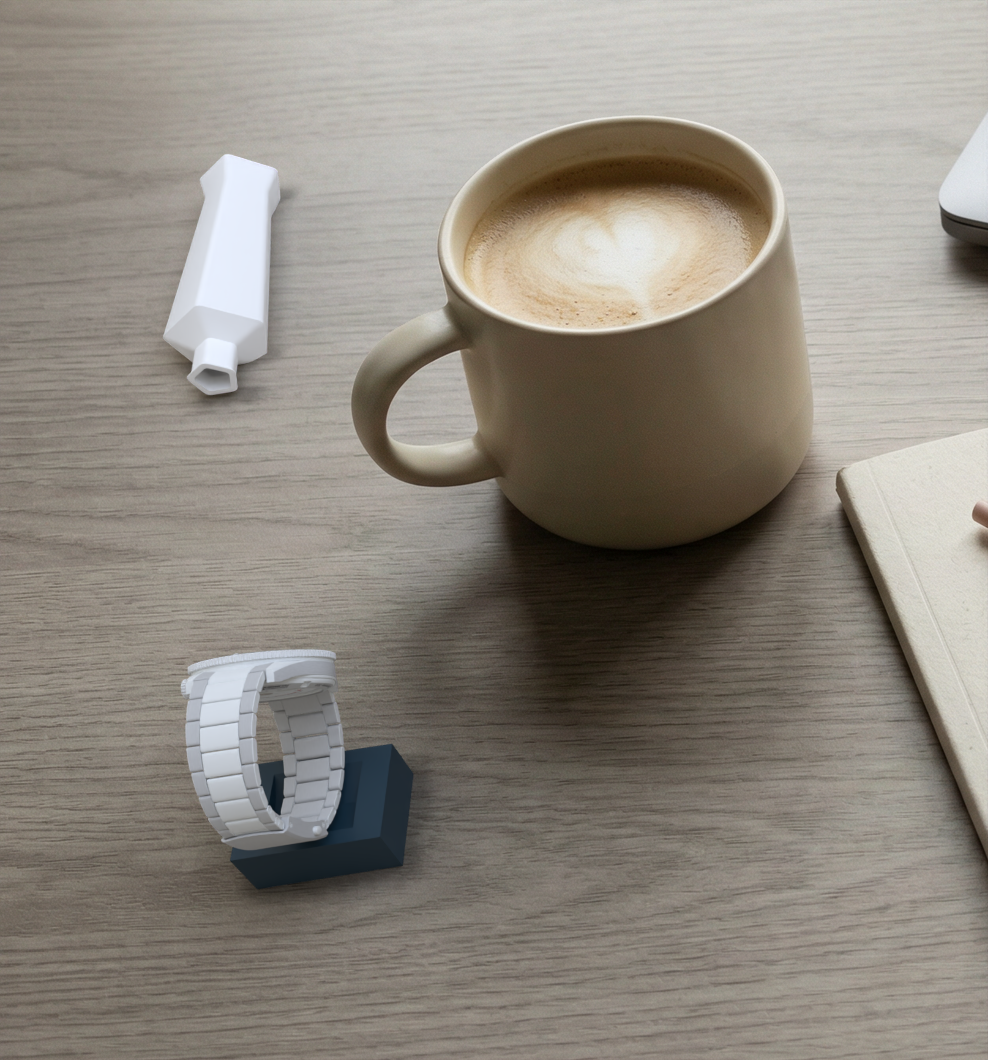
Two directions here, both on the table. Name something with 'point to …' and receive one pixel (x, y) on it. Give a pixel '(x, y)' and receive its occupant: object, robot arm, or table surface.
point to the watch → (291, 771)
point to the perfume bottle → (226, 275)
